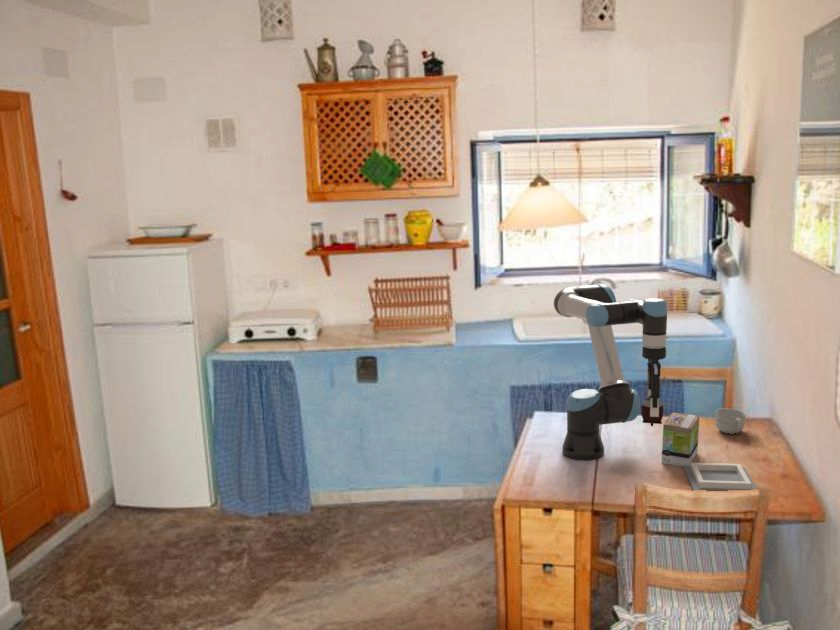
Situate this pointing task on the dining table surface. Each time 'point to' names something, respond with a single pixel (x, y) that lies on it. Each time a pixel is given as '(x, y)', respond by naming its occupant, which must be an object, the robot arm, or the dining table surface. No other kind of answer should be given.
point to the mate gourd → (646, 411)
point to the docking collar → (718, 477)
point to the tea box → (680, 439)
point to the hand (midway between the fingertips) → (653, 412)
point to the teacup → (730, 420)
